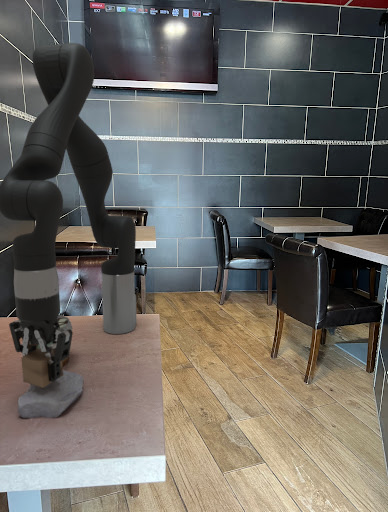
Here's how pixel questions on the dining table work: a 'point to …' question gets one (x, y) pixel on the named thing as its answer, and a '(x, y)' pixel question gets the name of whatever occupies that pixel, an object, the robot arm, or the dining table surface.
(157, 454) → the dining table surface
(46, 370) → the walnut block
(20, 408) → the stone block
